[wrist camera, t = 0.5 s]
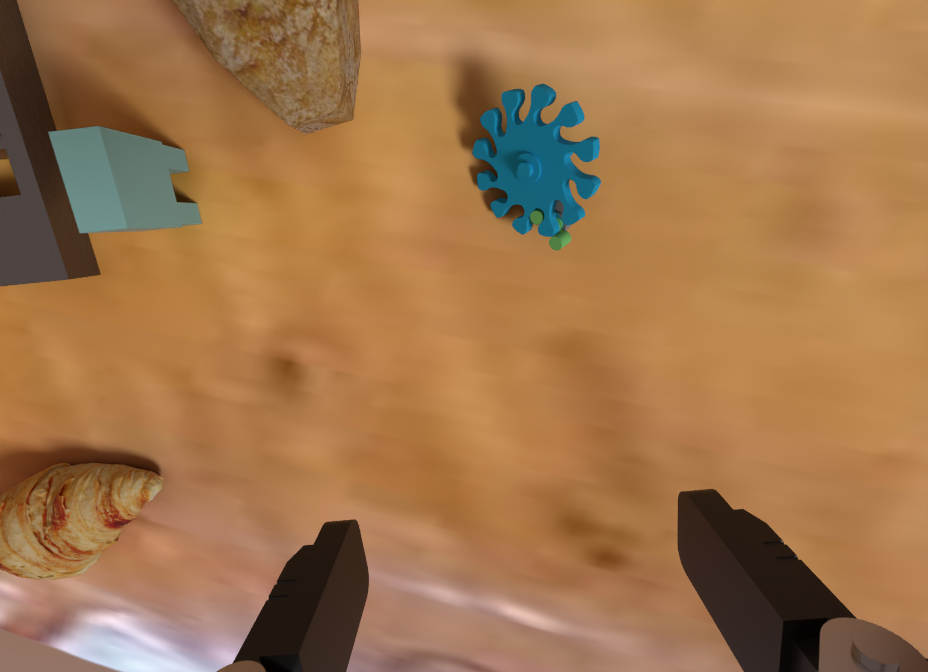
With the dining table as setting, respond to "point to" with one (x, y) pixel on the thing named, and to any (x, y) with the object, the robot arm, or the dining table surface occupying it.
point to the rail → (33, 173)
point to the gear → (537, 164)
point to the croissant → (69, 517)
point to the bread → (287, 53)
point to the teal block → (121, 181)
